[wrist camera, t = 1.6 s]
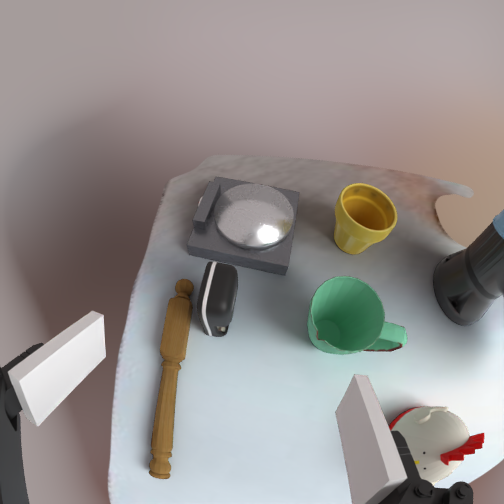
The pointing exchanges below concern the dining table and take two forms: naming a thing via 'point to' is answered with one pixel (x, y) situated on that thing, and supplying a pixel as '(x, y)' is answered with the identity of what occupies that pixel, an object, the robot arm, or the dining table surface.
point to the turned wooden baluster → (170, 376)
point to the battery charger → (217, 298)
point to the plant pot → (362, 217)
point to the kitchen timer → (436, 440)
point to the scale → (245, 225)
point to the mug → (351, 319)
